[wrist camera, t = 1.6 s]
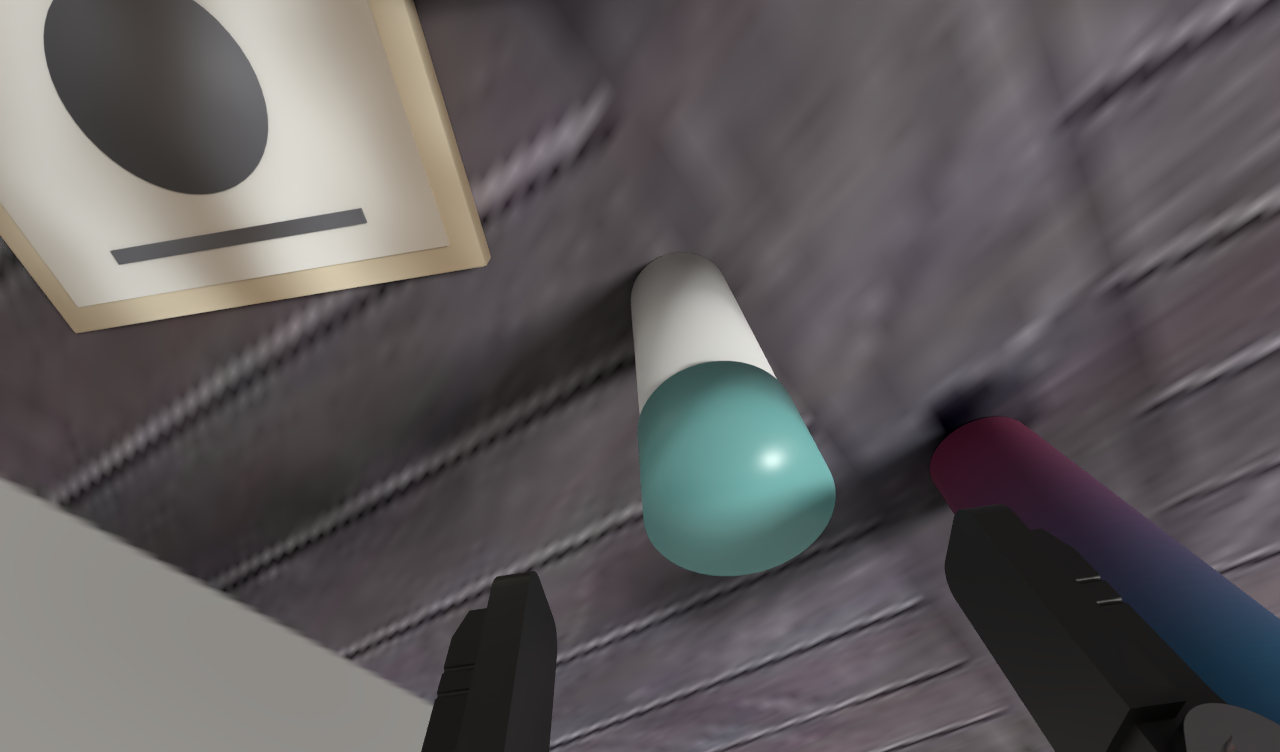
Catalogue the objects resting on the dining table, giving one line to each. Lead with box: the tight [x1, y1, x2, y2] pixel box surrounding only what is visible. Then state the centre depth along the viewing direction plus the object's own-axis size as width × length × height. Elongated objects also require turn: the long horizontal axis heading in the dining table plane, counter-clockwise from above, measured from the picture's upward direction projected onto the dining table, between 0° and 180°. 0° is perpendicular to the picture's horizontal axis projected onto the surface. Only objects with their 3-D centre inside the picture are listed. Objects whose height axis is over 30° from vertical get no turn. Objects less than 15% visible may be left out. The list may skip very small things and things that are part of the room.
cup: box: [930, 416, 1280, 725], centre depth 21 cm, size 7×7×15 cm
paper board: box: [0, 0, 491, 333], centre depth 17 cm, size 16×14×1 cm
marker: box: [631, 252, 836, 576], centre depth 17 cm, size 4×4×12 cm
